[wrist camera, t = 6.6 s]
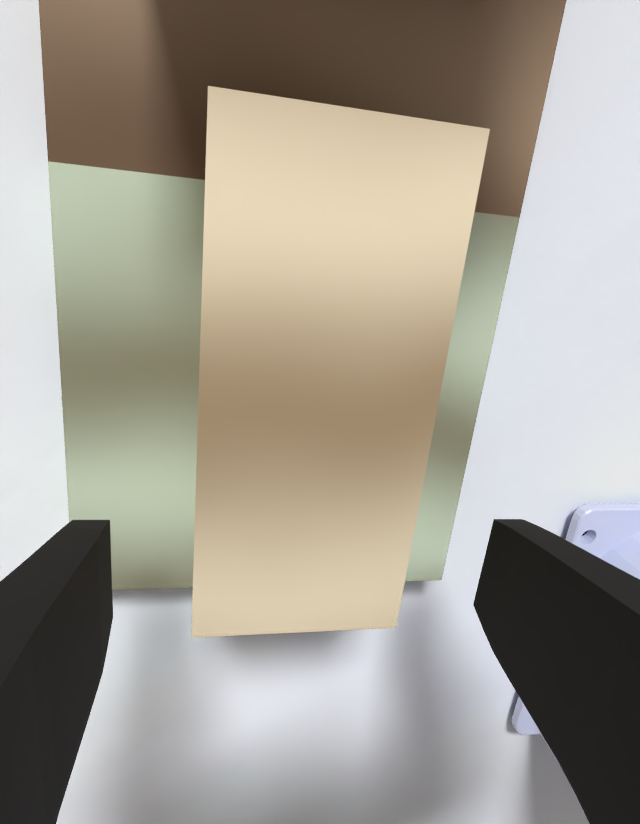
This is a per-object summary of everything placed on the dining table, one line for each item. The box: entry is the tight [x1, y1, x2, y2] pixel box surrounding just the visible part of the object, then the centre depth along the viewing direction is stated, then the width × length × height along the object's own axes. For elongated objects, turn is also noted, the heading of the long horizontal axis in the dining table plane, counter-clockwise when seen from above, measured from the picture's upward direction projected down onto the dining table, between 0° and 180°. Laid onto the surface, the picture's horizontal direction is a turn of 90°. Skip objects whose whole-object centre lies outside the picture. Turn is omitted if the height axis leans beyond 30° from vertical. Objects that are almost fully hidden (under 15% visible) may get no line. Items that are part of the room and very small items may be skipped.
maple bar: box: [191, 86, 490, 638], centre depth 11 cm, size 9×4×4 cm, turn 174°
